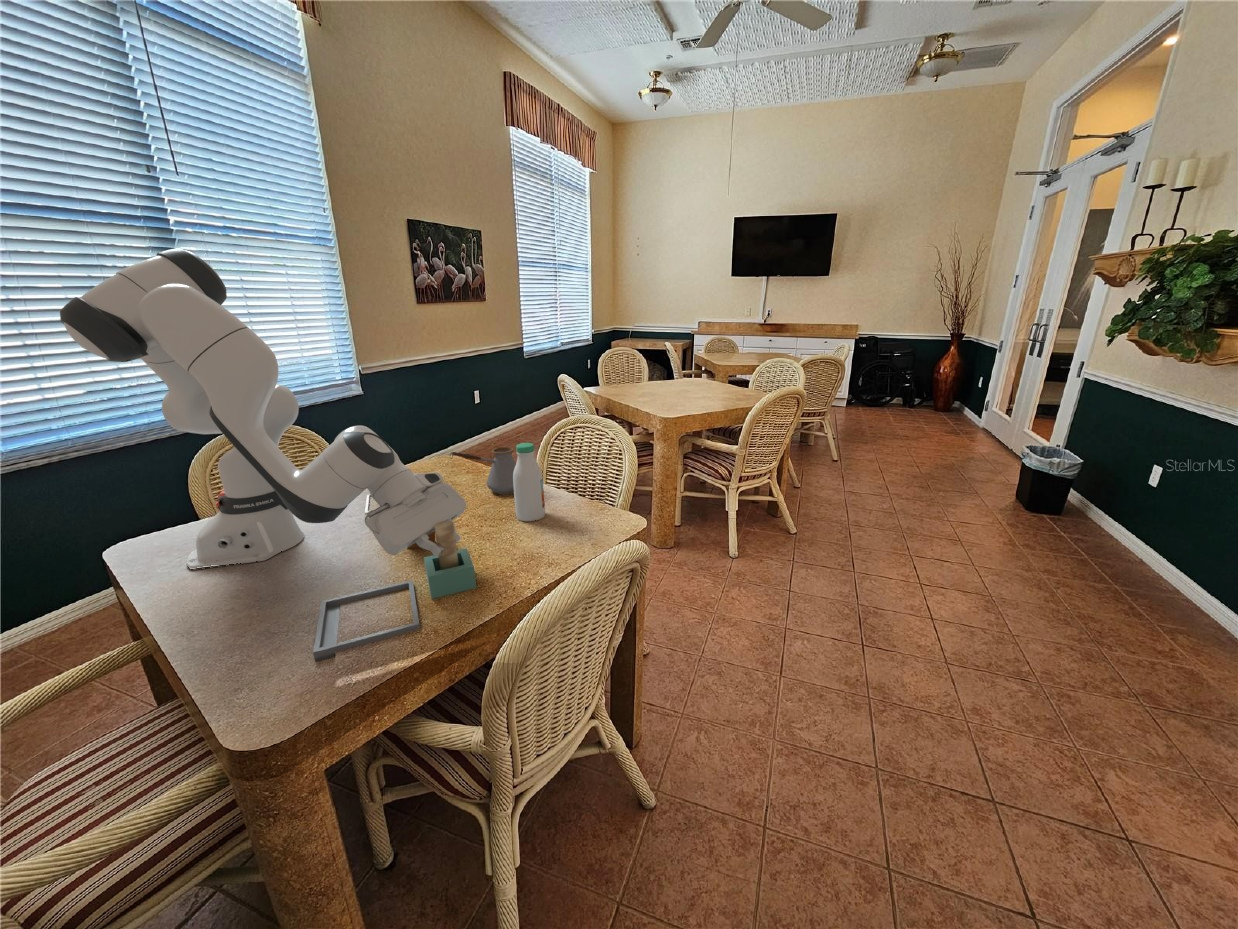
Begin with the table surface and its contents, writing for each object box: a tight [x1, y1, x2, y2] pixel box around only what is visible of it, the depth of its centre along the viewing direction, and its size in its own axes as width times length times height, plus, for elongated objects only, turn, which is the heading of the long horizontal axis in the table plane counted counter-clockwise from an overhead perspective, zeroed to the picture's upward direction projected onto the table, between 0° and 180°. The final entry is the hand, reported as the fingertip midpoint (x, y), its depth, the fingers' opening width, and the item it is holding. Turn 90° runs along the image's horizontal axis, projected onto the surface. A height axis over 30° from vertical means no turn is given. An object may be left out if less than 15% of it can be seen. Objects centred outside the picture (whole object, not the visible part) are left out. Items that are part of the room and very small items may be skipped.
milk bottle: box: [513, 442, 546, 522], centre depth 129 cm, size 8×8×20 cm
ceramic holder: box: [423, 548, 477, 600], centre depth 99 cm, size 8×8×6 cm
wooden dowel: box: [434, 521, 459, 570], centre depth 98 cm, size 4×4×12 cm
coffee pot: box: [449, 446, 517, 495], centre depth 146 cm, size 21×12×15 cm, turn 125°
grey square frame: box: [312, 579, 421, 662], centre depth 89 cm, size 16×16×2 cm
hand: (449, 547), depth 97 cm, fingers closed on wooden dowel, 3 cm apart
